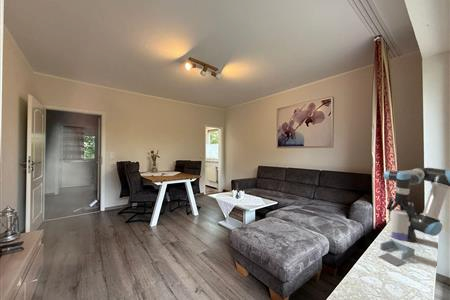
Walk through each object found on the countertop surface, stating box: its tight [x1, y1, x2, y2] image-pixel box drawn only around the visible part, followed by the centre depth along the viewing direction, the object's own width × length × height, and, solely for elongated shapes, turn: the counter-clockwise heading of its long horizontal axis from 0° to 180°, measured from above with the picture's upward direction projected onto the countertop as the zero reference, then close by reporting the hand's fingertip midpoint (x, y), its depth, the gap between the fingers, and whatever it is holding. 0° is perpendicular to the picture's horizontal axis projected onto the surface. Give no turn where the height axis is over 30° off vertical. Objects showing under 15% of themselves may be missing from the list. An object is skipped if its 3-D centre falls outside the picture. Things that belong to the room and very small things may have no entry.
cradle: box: [379, 239, 416, 261], centre depth 149 cm, size 14×14×5 cm
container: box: [389, 209, 409, 242], centre depth 148 cm, size 10×10×20 cm
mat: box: [378, 252, 407, 267], centre depth 140 cm, size 11×11×1 cm
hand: (399, 222), depth 148 cm, fingers closed on container, 10 cm apart
